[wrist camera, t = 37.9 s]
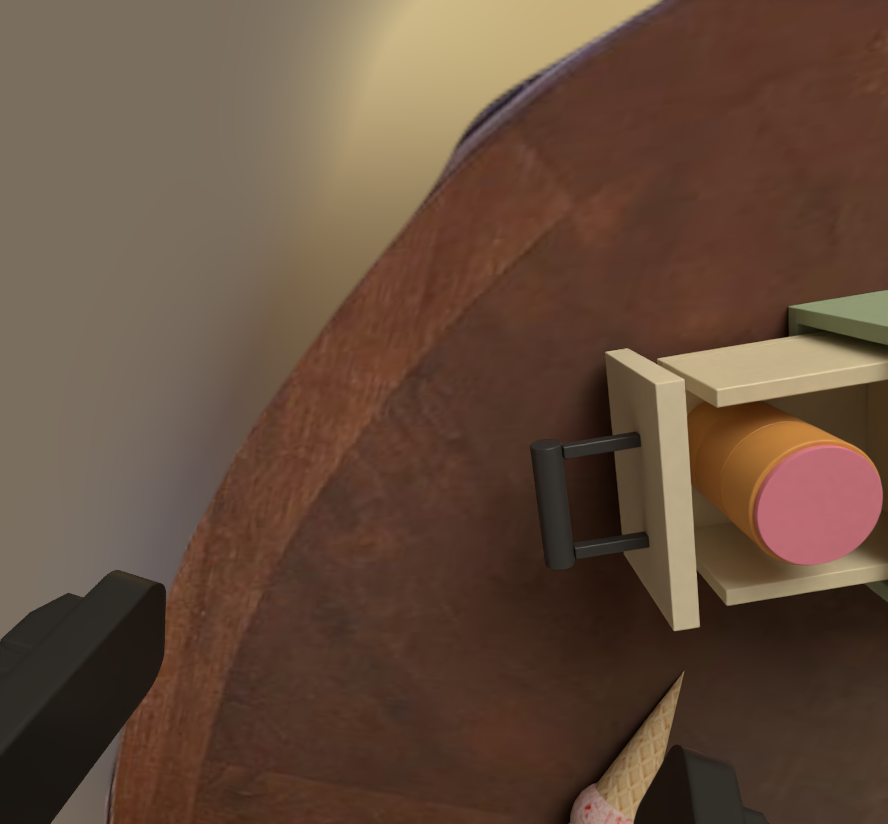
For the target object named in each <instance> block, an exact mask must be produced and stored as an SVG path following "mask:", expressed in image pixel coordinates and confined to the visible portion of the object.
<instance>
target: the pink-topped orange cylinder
mask: <svg viewBox="0 0 888 824" xmlns="http://www.w3.org/2000/svg"><path fill="white" fill-rule="evenodd" d="M687 428H688V444H689V460H690V476H691V485H692V486H693V487H694V488H696V489H697V490H698V491H699V492H700V493H701V494H702V495H703V496H704V497H705V498H706V499H708V500H709V501H710V502H711V503H712V504H713V505H714V506H715V507H716V508H717V509H719V510H720V511H721V512H722V513H723V514H724V515H725V516H726V517H727V518H728V519H729V520H731V521H732V522H733V523H734V524H735V525H736V526H737V527H738V528H739V529H740V530H741V531H743V532H744V533H745V534H746V535H747V536H748V537H749V538H750V539H751V540H752V541H754V542H755V543H756V544H757V545H758V546H759V547H760V548H761V549H762V550H763V551H765V552H766V553H767V554H768V555H770V556H771V557H773V558H775V559H777V560H779V561H781V562H785V563H788V564H793V565H819V564H824V563H829V562H831V561H834V560H837V559H839V558H841V557H843V556H845V555H847V554H848V553H850V552H852V551H853V550H854V549H855V548H857V547H858V546H859V545H860V544H861V543H862V542H863V541H864V540H865V539H866V538H867V537H868V535H869V534H870V533H871V531H872V530H873V528H874V527H875V525H876V523H877V521H878V518H879V515H880V513H881V508H882V501H883V490H882V485H881V480H880V476H879V473H878V471H877V469H876V467H875V465H874V463H873V462H872V461H871V459H870V458H869V457H868V456H867V455H866V454H865V453H864V452H863V451H862V450H860V449H859V448H857V447H856V446H854V445H852V444H849V443H847V442H845V441H843V440H841V439H839V438H837V437H835V436H833V435H831V434H829V433H827V432H825V431H823V430H821V429H819V428H817V427H815V426H813V425H811V424H808V423H806V422H804V421H802V420H800V419H798V418H796V417H794V416H792V415H790V414H788V413H786V412H784V411H782V410H780V409H778V408H776V407H774V406H772V405H770V404H767V403H765V402H763V401H755V402H749V403H743V404H737V405H731V406H725V407H719V408H717V407H715V406H713V405H712V404H710V403H708V402H707V401H703V402H702V403H700V404H699V405H698V406H696V407H695V408H694V409H693V410H692V411H691V412H690V413H689V414H688V415H687Z"/></svg>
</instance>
